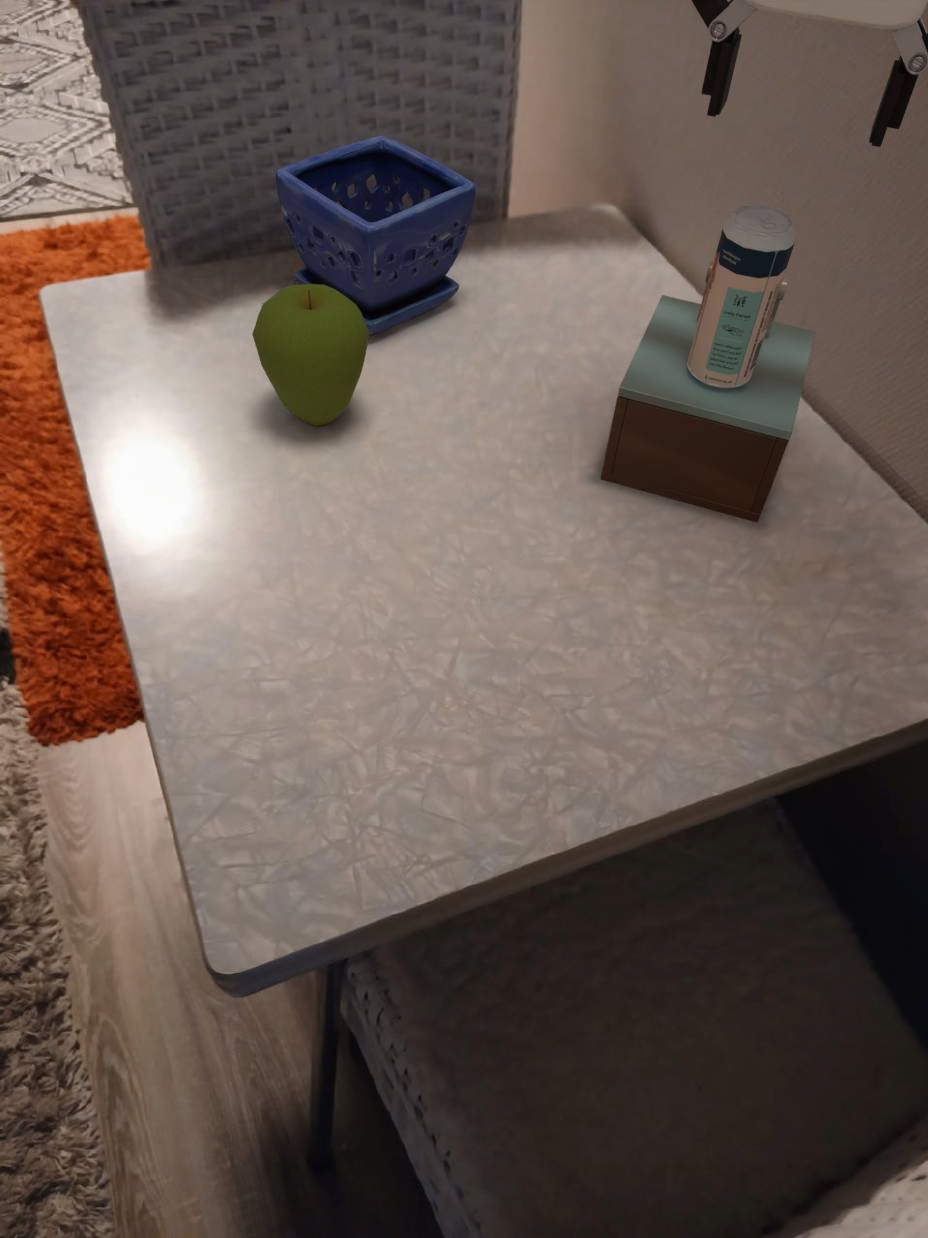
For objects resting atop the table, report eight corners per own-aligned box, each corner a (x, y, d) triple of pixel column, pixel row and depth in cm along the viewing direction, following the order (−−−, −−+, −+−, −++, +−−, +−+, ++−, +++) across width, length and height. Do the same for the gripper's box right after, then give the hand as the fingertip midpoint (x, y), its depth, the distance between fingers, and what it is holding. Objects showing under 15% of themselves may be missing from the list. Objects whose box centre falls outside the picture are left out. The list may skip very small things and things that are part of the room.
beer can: (730, 352, 75) (776, 198, 66) (761, 388, 72) (814, 231, 63) (674, 361, 74) (713, 205, 65) (703, 397, 71) (749, 239, 62)
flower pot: (475, 305, 94) (484, 181, 85) (370, 355, 87) (368, 226, 78) (383, 251, 99) (382, 130, 91) (278, 294, 93) (267, 168, 84)
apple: (243, 427, 79) (225, 298, 71) (302, 376, 84) (292, 250, 76) (334, 463, 77) (326, 334, 68) (389, 408, 82) (388, 282, 73)
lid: (660, 303, 81) (675, 238, 77) (812, 339, 78) (836, 274, 74) (617, 396, 71) (631, 328, 67) (788, 440, 69) (814, 373, 65)
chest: (640, 387, 86) (658, 307, 80) (782, 423, 84) (811, 344, 78) (600, 478, 77) (617, 396, 72) (757, 522, 75) (788, 441, 69)
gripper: (1089, -243, 47) (944, 127, 60) (734, -278, 51) (668, 78, 63) (1100, -225, 42) (940, 174, 55) (708, -265, 46) (641, 118, 58)
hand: (794, 123), depth 59 cm, fingers open, 9 cm apart
